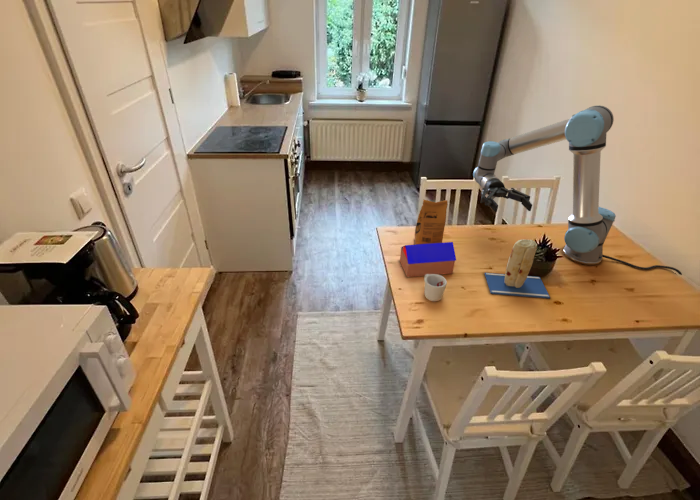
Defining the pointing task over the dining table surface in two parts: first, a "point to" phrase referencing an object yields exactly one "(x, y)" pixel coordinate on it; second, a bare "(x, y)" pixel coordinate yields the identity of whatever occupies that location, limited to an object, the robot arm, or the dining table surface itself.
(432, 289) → the cup
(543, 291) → the towel
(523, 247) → the food model
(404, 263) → the house
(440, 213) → the coffee package
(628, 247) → the dining table surface
